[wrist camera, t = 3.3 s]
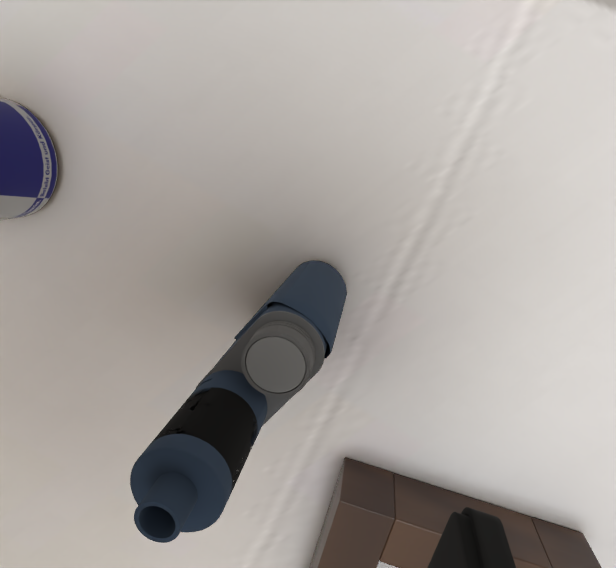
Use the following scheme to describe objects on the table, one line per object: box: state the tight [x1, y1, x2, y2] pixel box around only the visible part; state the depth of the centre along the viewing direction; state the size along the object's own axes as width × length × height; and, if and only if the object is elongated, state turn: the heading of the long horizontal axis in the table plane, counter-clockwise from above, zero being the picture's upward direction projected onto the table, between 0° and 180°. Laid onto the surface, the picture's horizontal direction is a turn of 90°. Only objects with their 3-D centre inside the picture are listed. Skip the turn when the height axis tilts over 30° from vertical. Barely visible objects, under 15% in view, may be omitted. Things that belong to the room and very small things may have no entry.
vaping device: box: [130, 261, 347, 543], centre depth 15 cm, size 3×5×12 cm, turn 138°
